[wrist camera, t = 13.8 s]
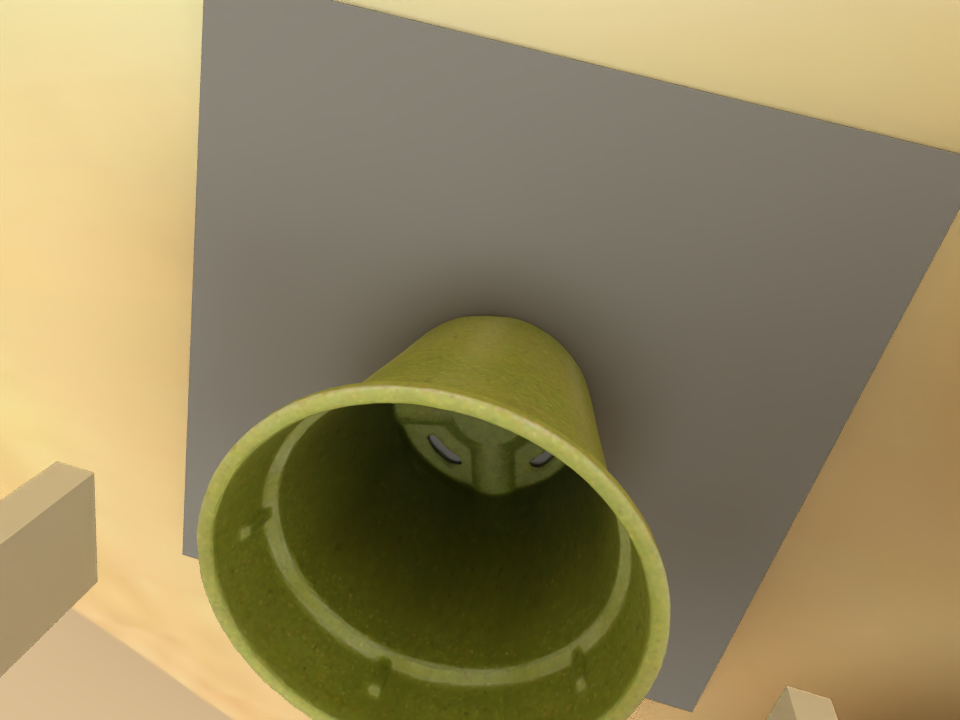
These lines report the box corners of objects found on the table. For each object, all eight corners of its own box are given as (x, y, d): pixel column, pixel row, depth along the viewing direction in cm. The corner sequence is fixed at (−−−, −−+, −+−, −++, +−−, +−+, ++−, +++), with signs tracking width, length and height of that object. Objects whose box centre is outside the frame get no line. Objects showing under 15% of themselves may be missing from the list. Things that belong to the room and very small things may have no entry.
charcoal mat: (974, 158, 16) (985, 160, 16) (690, 701, 25) (692, 712, 24) (215, -28, 18) (204, -31, 17) (189, 546, 26) (182, 554, 26)
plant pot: (507, 575, 23) (458, 830, 15) (293, 406, 22) (120, 589, 14) (713, 404, 19) (785, 626, 12) (468, 189, 18) (363, 275, 10)
